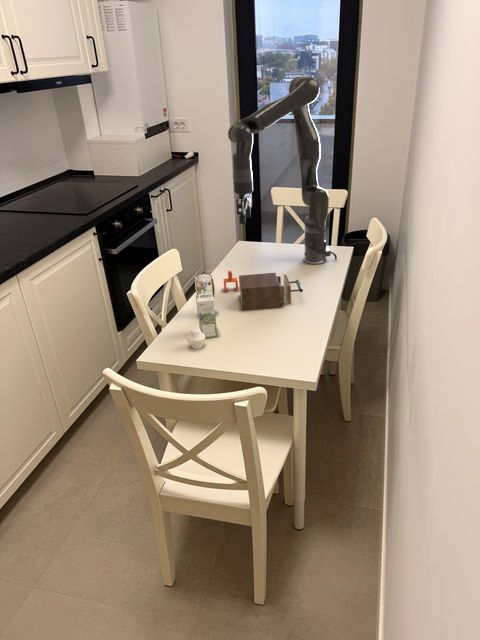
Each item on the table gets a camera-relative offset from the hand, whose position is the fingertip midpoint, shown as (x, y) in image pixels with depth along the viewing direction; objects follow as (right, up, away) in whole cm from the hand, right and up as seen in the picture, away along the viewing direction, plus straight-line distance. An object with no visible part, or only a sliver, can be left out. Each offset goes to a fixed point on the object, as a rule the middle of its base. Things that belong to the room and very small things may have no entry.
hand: (245, 220), depth 203 cm
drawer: (+13, -32, -7) cm, 36 cm away
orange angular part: (-6, -28, +3) cm, 29 cm away
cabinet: (+6, -34, -8) cm, 35 cm away
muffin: (-15, -52, -35) cm, 64 cm away
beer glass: (-14, -39, -15) cm, 44 cm away
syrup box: (-12, -47, -28) cm, 56 cm away
